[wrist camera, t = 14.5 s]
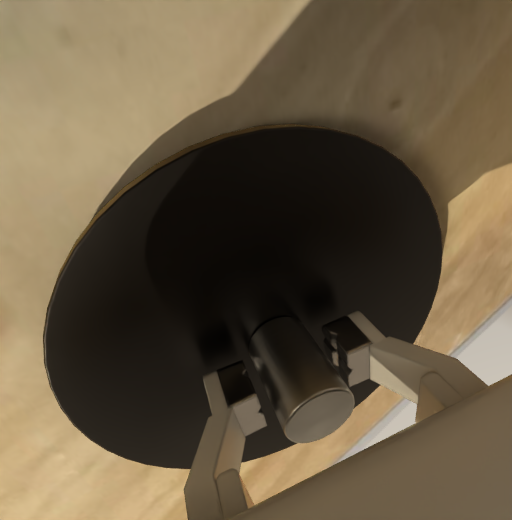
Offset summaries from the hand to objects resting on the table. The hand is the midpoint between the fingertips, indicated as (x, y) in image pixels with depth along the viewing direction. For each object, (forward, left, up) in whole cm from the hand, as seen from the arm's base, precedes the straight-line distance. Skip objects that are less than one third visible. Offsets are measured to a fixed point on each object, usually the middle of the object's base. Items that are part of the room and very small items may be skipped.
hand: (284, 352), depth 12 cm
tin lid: (0, 0, -1) cm, 1 cm away
